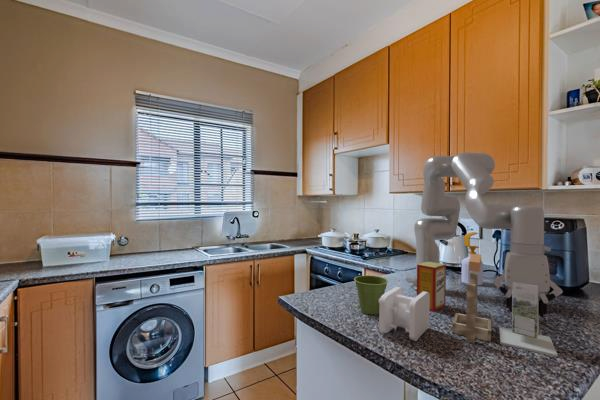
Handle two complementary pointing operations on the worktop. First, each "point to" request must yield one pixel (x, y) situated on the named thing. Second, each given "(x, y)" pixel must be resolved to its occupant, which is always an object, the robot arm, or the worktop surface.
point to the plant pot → (370, 292)
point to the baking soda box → (432, 283)
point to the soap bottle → (465, 262)
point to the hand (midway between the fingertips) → (525, 312)
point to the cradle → (472, 316)
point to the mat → (527, 342)
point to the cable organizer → (404, 312)
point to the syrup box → (525, 309)
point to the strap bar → (475, 262)
